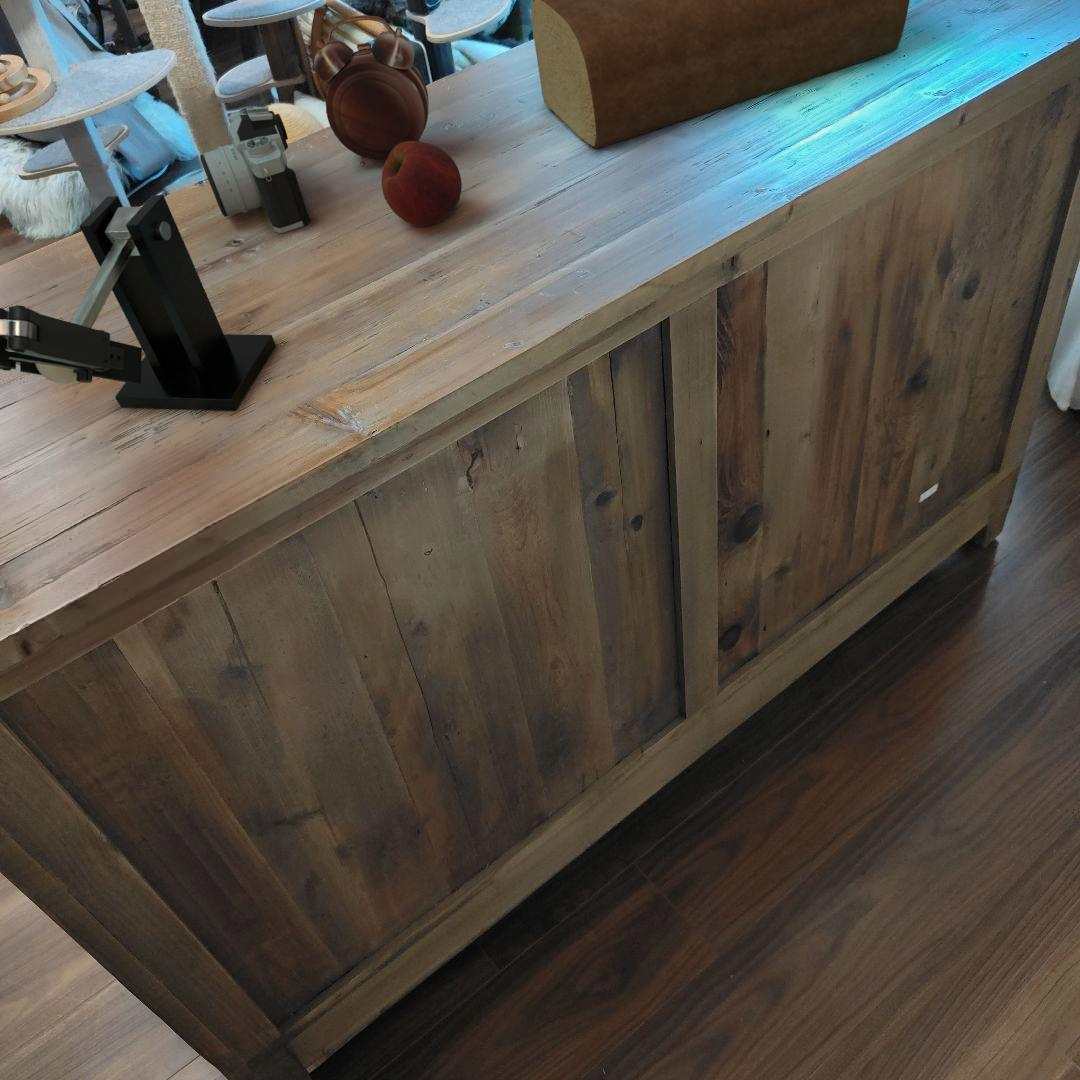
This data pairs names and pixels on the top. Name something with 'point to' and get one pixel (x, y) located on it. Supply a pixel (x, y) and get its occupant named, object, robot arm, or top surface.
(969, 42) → the top surface
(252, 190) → the camera
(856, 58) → the bread
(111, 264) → the lever
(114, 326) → the top surface
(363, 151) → the alarm clock
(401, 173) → the apple
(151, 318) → the lever bracket
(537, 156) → the top surface
